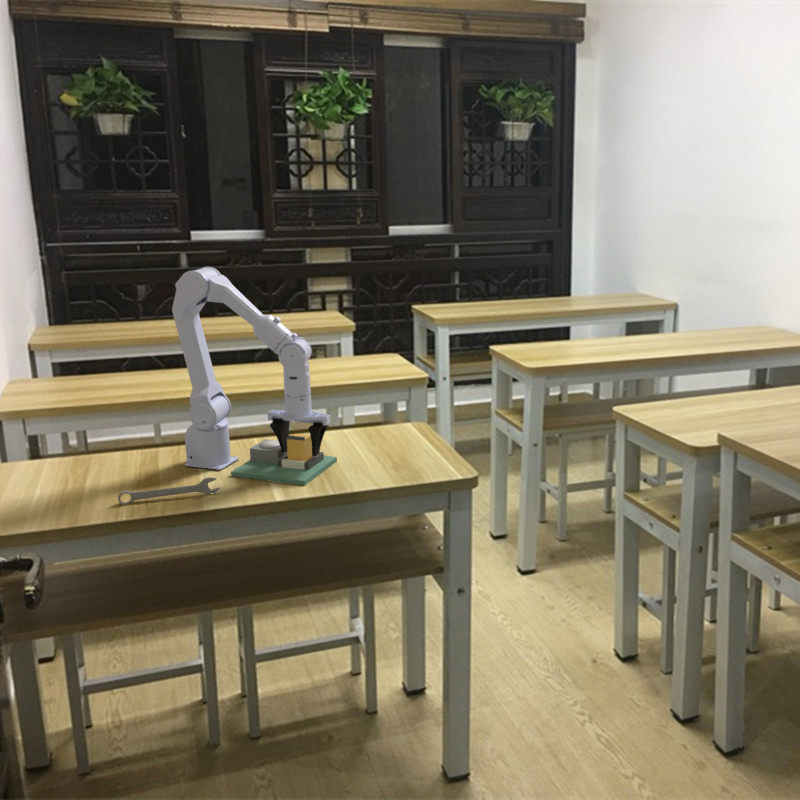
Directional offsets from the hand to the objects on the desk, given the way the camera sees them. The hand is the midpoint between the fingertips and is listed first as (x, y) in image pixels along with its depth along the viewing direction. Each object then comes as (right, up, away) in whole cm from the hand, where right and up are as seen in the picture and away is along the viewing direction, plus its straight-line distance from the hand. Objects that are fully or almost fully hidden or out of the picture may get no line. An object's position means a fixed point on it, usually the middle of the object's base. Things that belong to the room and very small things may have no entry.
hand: (300, 452), depth 177 cm
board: (-3, -3, 0) cm, 5 cm away
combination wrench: (-24, -9, -16) cm, 30 cm away
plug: (0, -2, 0) cm, 2 cm away
